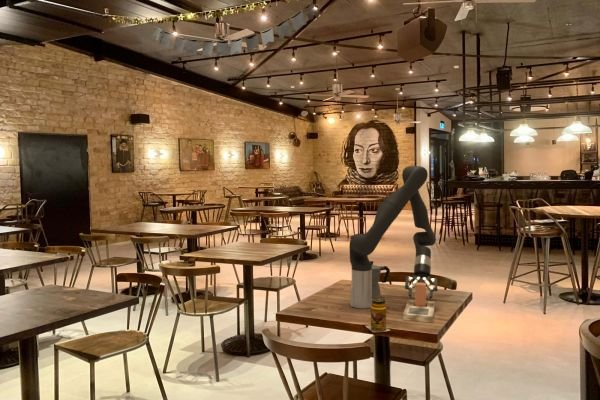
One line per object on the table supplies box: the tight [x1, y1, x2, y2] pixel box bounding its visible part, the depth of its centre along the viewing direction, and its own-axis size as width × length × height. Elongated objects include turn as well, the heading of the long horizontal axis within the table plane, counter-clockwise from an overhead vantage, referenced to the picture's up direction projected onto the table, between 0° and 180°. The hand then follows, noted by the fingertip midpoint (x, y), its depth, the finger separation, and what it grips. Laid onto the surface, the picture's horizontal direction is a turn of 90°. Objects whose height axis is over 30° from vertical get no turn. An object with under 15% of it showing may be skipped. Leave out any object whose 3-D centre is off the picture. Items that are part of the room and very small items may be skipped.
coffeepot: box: [369, 260, 391, 300], centre depth 252 cm, size 15×9×18 cm, turn 82°
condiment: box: [365, 298, 391, 333], centre depth 205 cm, size 7×8×12 cm
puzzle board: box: [402, 299, 436, 323], centre depth 226 cm, size 12×24×3 cm, turn 163°
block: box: [414, 282, 427, 307], centre depth 230 cm, size 4×4×12 cm
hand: (420, 297), depth 229 cm, fingers open, 8 cm apart
